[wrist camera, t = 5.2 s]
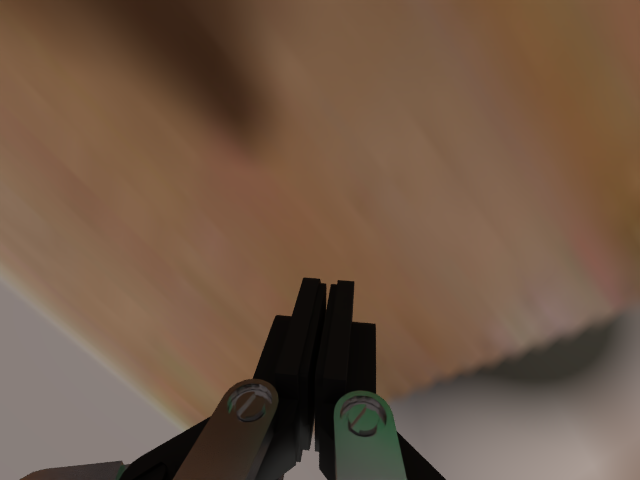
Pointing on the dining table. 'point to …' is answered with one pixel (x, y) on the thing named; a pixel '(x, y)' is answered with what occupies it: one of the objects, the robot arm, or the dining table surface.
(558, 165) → the dining table surface
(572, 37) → the dining table surface
